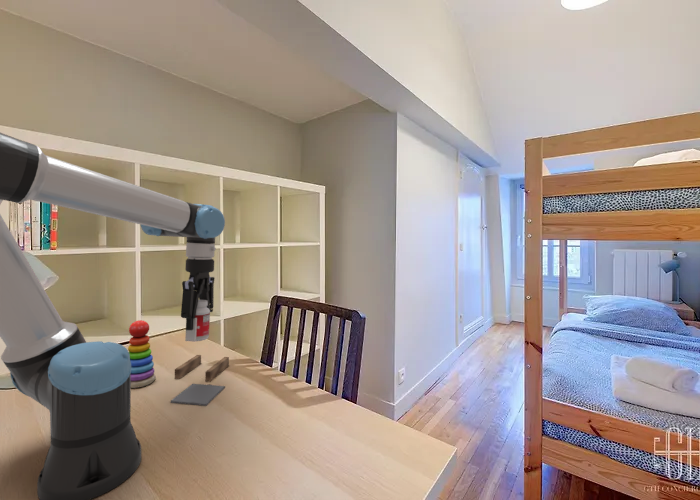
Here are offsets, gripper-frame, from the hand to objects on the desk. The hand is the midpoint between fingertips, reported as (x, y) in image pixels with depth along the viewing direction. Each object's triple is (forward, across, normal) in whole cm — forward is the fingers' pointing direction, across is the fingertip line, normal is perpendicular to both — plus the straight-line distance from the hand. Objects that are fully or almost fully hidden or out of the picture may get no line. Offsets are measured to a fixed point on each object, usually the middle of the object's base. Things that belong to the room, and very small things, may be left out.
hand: (197, 337), depth 93 cm
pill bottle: (+1, 0, 0) cm, 1 cm away
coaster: (+15, -4, -3) cm, 16 cm away
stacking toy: (+15, +1, +18) cm, 24 cm away
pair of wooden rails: (+15, +11, +3) cm, 18 cm away
